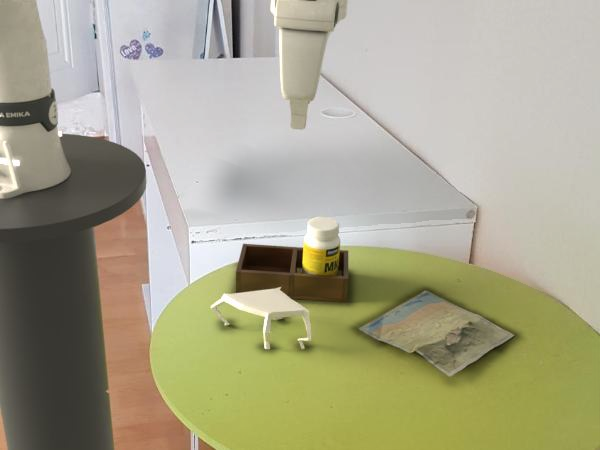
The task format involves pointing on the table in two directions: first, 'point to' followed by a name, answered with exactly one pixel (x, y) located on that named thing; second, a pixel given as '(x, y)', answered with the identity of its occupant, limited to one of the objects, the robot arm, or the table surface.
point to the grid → (288, 274)
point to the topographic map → (437, 332)
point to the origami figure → (266, 309)
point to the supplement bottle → (321, 247)
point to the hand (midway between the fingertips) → (300, 114)
